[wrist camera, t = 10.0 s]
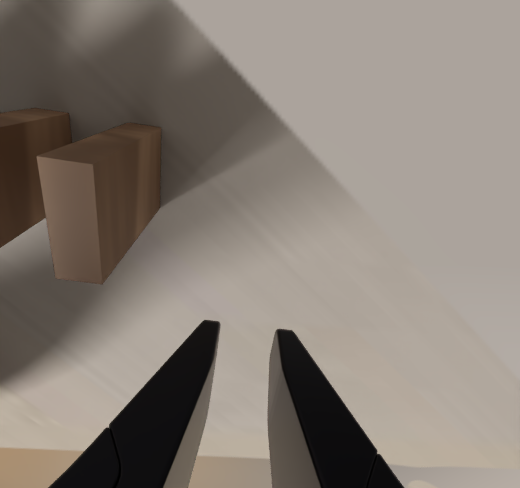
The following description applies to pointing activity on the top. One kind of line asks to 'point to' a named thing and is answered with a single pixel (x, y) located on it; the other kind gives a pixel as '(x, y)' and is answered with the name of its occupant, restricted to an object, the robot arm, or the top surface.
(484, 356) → the top surface
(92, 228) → the tile
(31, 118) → the tile
